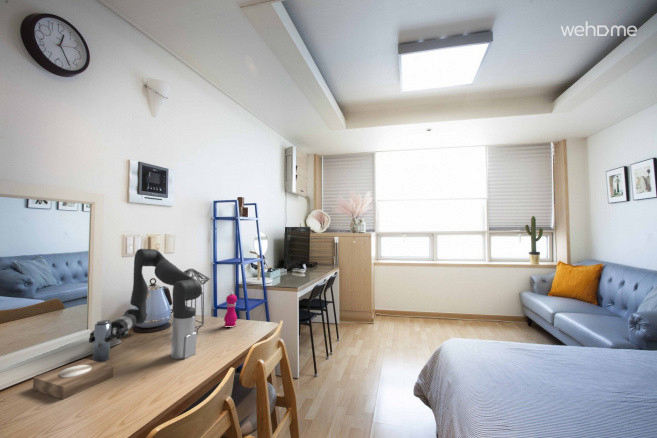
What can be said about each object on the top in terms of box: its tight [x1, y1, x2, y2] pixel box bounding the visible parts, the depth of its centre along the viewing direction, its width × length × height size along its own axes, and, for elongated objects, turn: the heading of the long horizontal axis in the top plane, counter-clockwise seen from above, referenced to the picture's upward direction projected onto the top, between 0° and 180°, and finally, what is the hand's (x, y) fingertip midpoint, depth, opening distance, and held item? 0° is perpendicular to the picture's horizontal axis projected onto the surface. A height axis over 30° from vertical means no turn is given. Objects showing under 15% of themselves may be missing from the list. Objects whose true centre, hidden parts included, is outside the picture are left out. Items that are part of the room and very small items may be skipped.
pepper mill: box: [223, 291, 238, 327], centre depth 171 cm, size 7×7×20 cm
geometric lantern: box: [171, 268, 211, 334], centre depth 157 cm, size 16×16×35 cm
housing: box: [92, 319, 112, 363], centre depth 124 cm, size 6×6×16 cm
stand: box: [32, 358, 115, 400], centre depth 105 cm, size 16×16×4 cm
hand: (99, 340), depth 122 cm, fingers closed on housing, 5 cm apart
